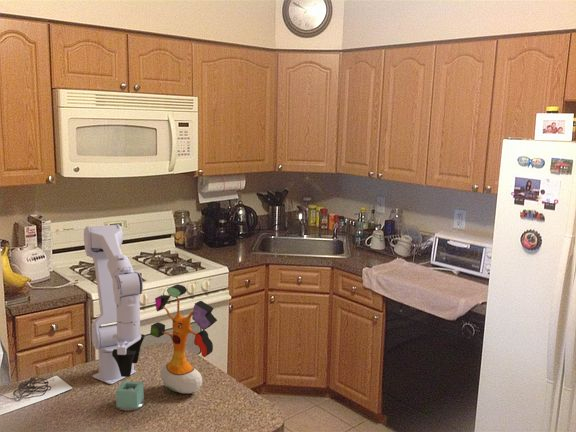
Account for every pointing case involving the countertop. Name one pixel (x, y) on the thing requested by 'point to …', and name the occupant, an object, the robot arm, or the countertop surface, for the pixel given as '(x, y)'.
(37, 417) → the countertop surface
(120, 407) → the post
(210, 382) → the countertop surface
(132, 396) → the collar
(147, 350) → the countertop surface
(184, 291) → the decorative sculpture
